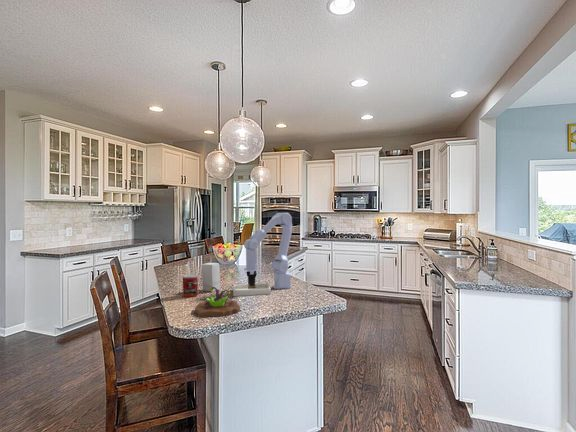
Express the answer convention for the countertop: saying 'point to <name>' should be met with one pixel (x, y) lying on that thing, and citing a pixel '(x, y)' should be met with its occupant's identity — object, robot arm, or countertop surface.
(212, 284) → the skincare box
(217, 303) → the plant
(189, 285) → the canned food
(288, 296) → the countertop surface
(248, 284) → the walnut block
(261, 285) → the tray
